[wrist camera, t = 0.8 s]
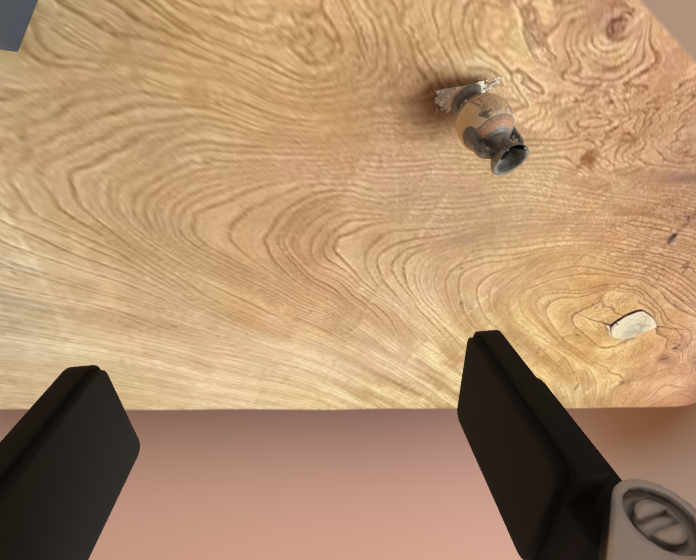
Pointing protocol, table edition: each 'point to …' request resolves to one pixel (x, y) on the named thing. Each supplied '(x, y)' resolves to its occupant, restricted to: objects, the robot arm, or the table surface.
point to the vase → (485, 124)
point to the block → (14, 22)
